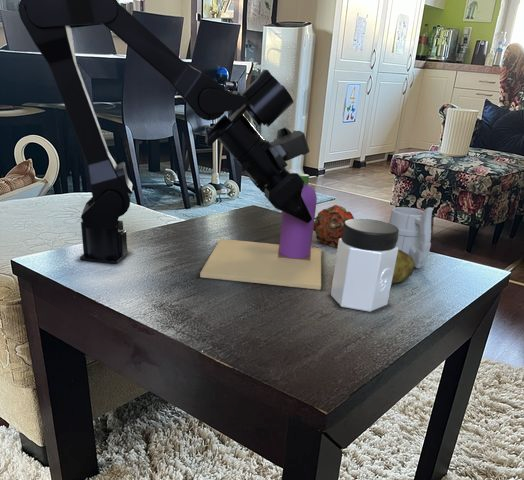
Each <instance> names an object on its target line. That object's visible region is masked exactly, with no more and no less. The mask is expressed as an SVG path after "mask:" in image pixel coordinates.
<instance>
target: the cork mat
mask: <svg viewBox="0 0 524 480" xmlns="http://www.w3.org/2000/svg"><path fill="white" fill-rule="evenodd" d="M278 251H279V243H267V242H257V241H249V240H248V241H247V240H238V239H227V238H219V240H218V242H217V243H216V246H215V247H214V249H213V250H212V252H211V254H210V256H209V257H208V259H207V260H206V262H205V264H204V265H203V267H202V269H201V271H200V272H199V277H200V278H204V279H214V280H223V281H233V282H243V283H252V284H260V285H261V284H263V285H271V286H280V287H281V286H282V287H290V288H301V289H308V290H309V289H310V290H318V291H319V290H322V248H318V247H311V253H310V256H309V257H307V258H301V259H296V258H288V257H285V256H282V255H280V254H279V252H278Z"/></svg>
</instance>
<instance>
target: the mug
mask: <svg viewBox="0 0 524 480" xmlns="http://www.w3.org/2000/svg"><path fill="white" fill-rule="evenodd" d="M433 211H434V208H433V207H426V208H425V209H424V210H422V209H418V208H415V207H407V206H406V207H404V206H397V207H393V208H392V209H391V211H390V212H391V213H390V218H389V222H388V223H390V224H392V225H394V226H396V227H397V228H398V229H399V233H398V241H397V243H396V246H397V247H398V249H399V250H401V251H403V252H405V253H407V254H408V255H410V256H411V257H412V258H413V260H414V263H415V266H414V268H416V269H421V268H422V267H423V265H424V263H426V261H427V259H428V257H429V253H430V249H431V247H432V243H431V241H432V240H431V239H432V215H433Z"/></svg>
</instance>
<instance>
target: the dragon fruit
mask: <svg viewBox="0 0 524 480" xmlns="http://www.w3.org/2000/svg"><path fill="white" fill-rule="evenodd" d="M351 219H355V217H354V215H353V214H352V213H351V211H347V209H346V207H344V206H340V205H338V204H334V205H332V206H330V207H327V208H323V209H322V210H320V211H319V212H317V216H315V219H314V228H313V232H315V238H316V240H317V241H318V242H319V243H321V244H326V245H328V246H330V247H333V248H338V241H339V239H340V238H342V233H343V226H344V223H345V222H346V221H347V220H351Z"/></svg>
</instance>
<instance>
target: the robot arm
mask: <svg viewBox="0 0 524 480" xmlns="http://www.w3.org/2000/svg"><path fill="white" fill-rule="evenodd" d="M17 8H18V14H19V18H20V21H21V22H22V24H23V26H24V28H25V30H26V31H27V33H28V35H29V37H30V38H31V40H32V41H33V44H34V45H35V46H36V48H37V51H38V52H39V53H40V55H41V56H42V57H43V59H44V60H45V62H46V63H47V65H48V67H49V68H50V71H51V73H52V76H53V78H54V79H53V80H54V83H55V84H56V87H57V89H58V92H59V95H60V97H61V100H62V103H63V105H64V107H65V110H66V112H67V115H68V118H69V120H70V123H71V126H72V128H73V131H74V133H75V136H76V138H77V141H78V143H79V146H80V149H81V152H82V154H83V156H84V157H83V158H84V159H85V162H86V167H87V173H88V179H89V180H88V181H89V186H90V192H91V196H92V197H91V198H90V199H88V200H87V202H86V203H85V205H84V207H83V209H82V213H81V215H80V218H81V221H80V228H81V238H82V239H81V240H82V250H83V254H81V255H80V256H79V260H80V261H86V262H94V263H104V264H105V263H106V264H118V263H119V262H120V261H121V260H122V259H123V258H124V257H125V256H127V255H128V253H129V249H128V238H127V230H126V229H124V221H123V220H119V218H120V217H122V216H124V215H125V214H126V213H127V212H128V210H129V208H130V206H131V195H132V194H133V189H134V188H133V187H134V183H133V182H132V181H131V180H130V178H129V176H128V173H127V166H126V162H125V161H122V162H120V163H118V164H117V162H116V161H115V159H114V158H113V157H112V155H111V153H110V150H109V148H108V145H107V142H106V140H105V137H104V134H103V131H102V129H101V125H100V123H99V120H98V117H97V115H96V111H95V108H94V105H93V104H92V101H91V98H90V95H89V92H88V90H87V87H86V84H85V82H84V79H83V76H82V73H81V69H80V68H79V66H78V62H77V58H76V52H75V44H74V37H73V32H72V29H73V28H75V29H77V28H84V27H93V26H104V27H106V28H107V29H108V30H110V31H111V32H112V33H113V34H114V35H115V36H116V37H118V38H119V39H120V40H121V41H122V42H123V43H124V44H126V45H127V46H128V47H129V48H130V49H132V51H134V52H135V53H136V54H137V55H138V56H139V57H140V58H142V59H143V60H144V61H145V62H147V63H148V64H149V66H151V67H152V68H154V69H155V70H156V71H157V72H158V73H159V74H160V75H162V76H163V77H164V78H165V79H166V80H167V81H168V82H169V83H170V85H172V87H173V88H174V89H175V91H176V92H177V93H178V94H179V96H181V98H182V99H183V101H184V102H186V104H187V105H188V106H189V107H190V109H191V110H192V111H193V112H194V113H195V114H196V115H197V117H199V118H200V119H202V120H205V121H216V120H217V119H219V118H220V119H219V120H218V121H216V123H214V124H213V125H212V126H209V125H205V126H204V131H205V138H204V142H205V143H206V145H207V146H212V145H213V144H214V143H215V142H216V141H217V140H218V141H219V142H220V144H221V145H222V146H223V147H224V148H225V150H226V151H227V152H228V153H229V154H230V155H231V157H232V158H233V159H234V160H235V161H236V162H237V164H238V165H239V166H240V167H241V169H243V170H244V172H245V173H246V174H247V176H249V180H250V181H251V182H252V184H253V185H254V186H255V187H256V188H257V189H258V190H259V191H260V192H261V193H263V194H264V195H263V196H264V197H265V199H267V201H268V202H269V203H270V204H271V205H272V206H273V208H274V209H276V210H278V211H281V212H282V211H283V212H285V213H287V214H289V215H291V216H294V217H296V218H298V219H300V220H302V221H304V222H306V223H309V222H310V221H311V220H312V217H311V215H310V213H309V211H308V209H307V207H306V205H305V203H304V200H303V198H302V196H301V193H302V189H303V187H304V181H303V180H302V178H301V177H300V176H299V175H298V174H299V173H298V172H296V171H295V170H294V169H289V168H288V169H287V168H286V167H287V166H288V165H289V164H288V163H287V162H289V161H290V160H292V159H295V158H297V157H300V156H305V155H307V154H308V153H310V148H309V145H308V141H307V137H306V135H305V132H303V131H301V130H293V131H292V132H291V130H290V129H289V128H287V127H286V126H284V127H282V128H280V129H277V132H276V138H274V139H273V141H269V140H267V139H265V138H264V137H263V136H261V134H260V133H259V132H258V131H257V129H256V128H255V126H253V124H252V123H251V121H249V119H248V118H247V117H246V115H244V114H245V113H246V114H247V115H248V116H249V118H250V119H251V120H252V121H253V122H254V123H255V125H257V126H258V127H261V126H262V125H263V126H266V127H267V128H269V127H270V126H271V125H272V124H273V123H274V122H275V121H276V120H277V119H278V118H279V117H280V116H281V115H283V114H284V112H286V111H287V110H288V109H289V108H290V107H291V106H292V105H293V104H294V103H295V102H294V99H293V96H291V94H290V92H289V91H288V90H287V88H286V87H285V86H284V85H282V84H281V83H280V82H279V81H278V79H277V78H276V77H274V76H273V75H272V74H271V72H270V71H269V69H263V70H262V71H261V72H260V73H258V74H257V77H256V78H255V79H254V80H253V81H252V82H251V83H250V84H249V85H248V86H247V87H246V88H245V89H244V90H243V91H242V92H241V93H240V92H239V91H238V90H237V91H236V90H233V91H230V90H227V89H225V88H224V87H223V85H222V84H221V83H220V82H218V81H216V80H215V79H213V78H211V77H210V76H208V75H207V74H205V73H203V72H202V71H200V70H199V69H197V68H195V67H194V66H192V65H191V64H189V63H187V62H186V61H184V60H183V59H181V57H179V56H178V55H177V53H175V52H174V51H172V49H170V48H169V47H168V46H167V45H166V44H165V43H163V41H162V40H160V39H159V38H158V37H157V36H156V35H155V34H154V33H152V32H151V31H150V30H149V28H147V27H146V26H145V25H144V24H142V23H141V22H140V21H139V20H138V19H137V18H136V17H135V16H134V15H132V13H130V12H129V11H128V10H127V9H125V7H123V6H122V5H121V4H120V2H118V0H19V2H18V7H17ZM233 111H235V112H233ZM225 112H233V113H232V114H231V115H230V116H229V117H228V116H227V115H226V114H225Z"/></svg>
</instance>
